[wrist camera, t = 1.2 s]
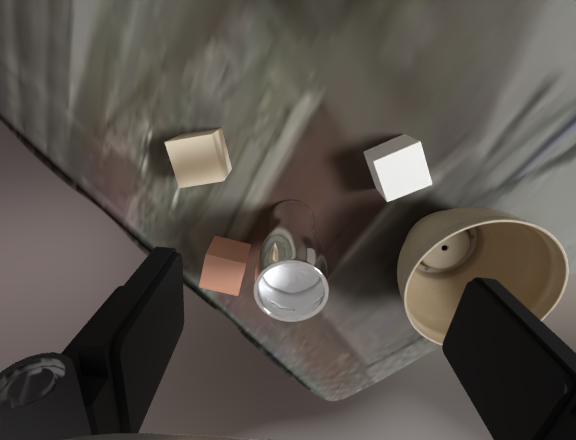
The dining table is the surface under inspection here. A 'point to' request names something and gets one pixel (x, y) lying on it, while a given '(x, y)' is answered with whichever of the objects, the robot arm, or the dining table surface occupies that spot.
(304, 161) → the dining table surface
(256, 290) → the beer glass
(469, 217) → the planter bowl
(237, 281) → the rust block
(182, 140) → the beech block
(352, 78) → the dining table surface
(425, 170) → the cream block
